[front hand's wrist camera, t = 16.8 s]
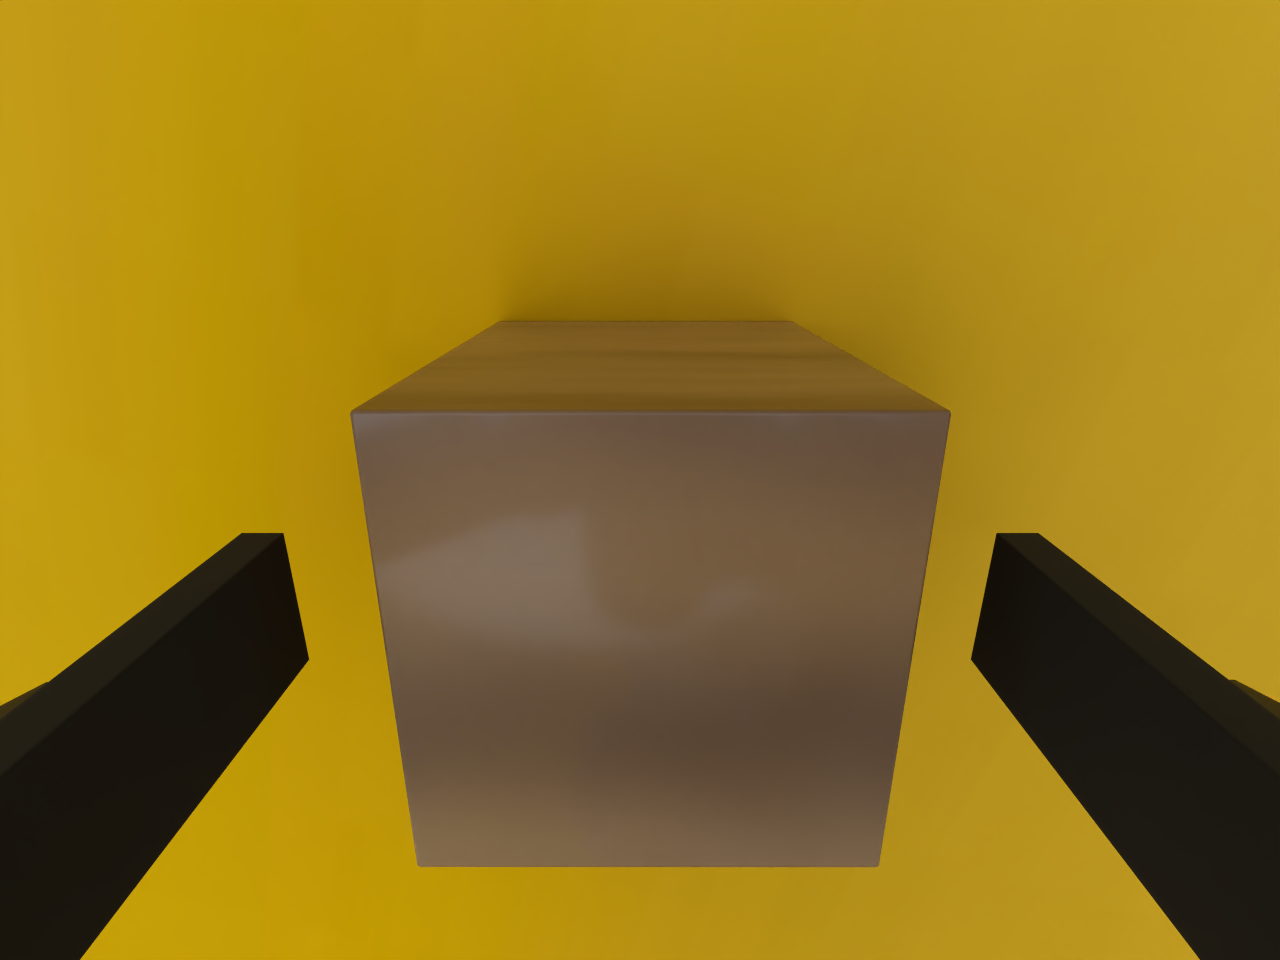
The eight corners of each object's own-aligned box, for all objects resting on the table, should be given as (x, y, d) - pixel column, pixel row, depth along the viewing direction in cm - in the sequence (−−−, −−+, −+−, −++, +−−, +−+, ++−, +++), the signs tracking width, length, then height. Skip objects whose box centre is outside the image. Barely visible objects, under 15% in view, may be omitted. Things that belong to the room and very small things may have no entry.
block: (497, 321, 19) (347, 410, 9) (792, 320, 19) (953, 410, 9) (516, 586, 22) (416, 867, 12) (772, 586, 22) (879, 868, 12)
